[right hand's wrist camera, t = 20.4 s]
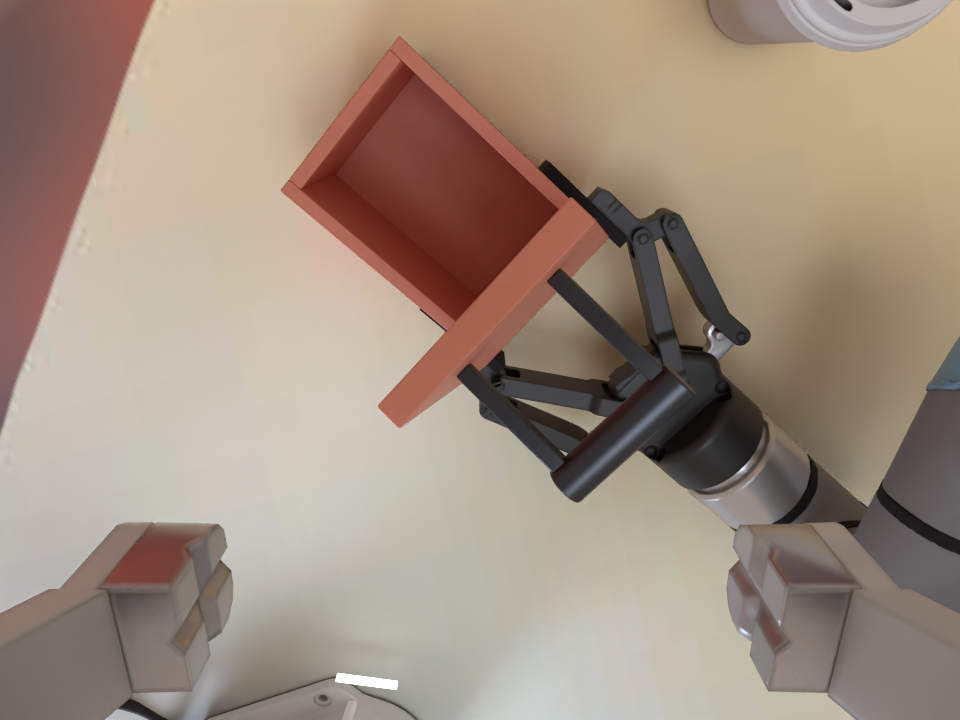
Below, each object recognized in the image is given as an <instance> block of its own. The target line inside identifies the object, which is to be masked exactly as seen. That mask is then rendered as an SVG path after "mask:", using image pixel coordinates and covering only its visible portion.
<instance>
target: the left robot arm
mask: <svg viewBox="0 0 960 720" xmlns="http://www.w3.org/2000/svg"><path fill="white" fill-rule="evenodd" d="M538 169H539V170H540V171H541V172H542V173H543V174H544V175H545V176H546V177H547V178H548V179H549V180H550V181H551V182H552V183H553V184H554V185H555V186H556V187H557V188H559V189H560V190H561V191H562V192H563V193H564V194H565V195H566V196H567V197H568V198H573V199H574V200H575V201H576V202H577V203H578V204H579V205H581V206H582V207H583V208H584V209H585V210H586V211H587V212H588V213H589V214H590V215H591V216H592V217H593V218H594V219H595V220H596V221H597V222H598V224H599V225H600V226H601V227H602V229H603V230H604V231H605V233H606V234H607V235H608V236H609V238H610V239H611V240H612V241H613V242H614V243H615V244H616V245H617V246H618V247H619V248H620V247H621V246H622V245H623V244H624V243H625V242H627V246H628V250H629V255H630V259H631V263H632V267H633V271H634V275H635V279H636V284H637V288H638V292H639V296H640V300H641V304H642V308H643V313H644V317H645V321H646V330H647V334H648V338H649V342H650V344H648V345H646V346H643V345H641V346H642V347H643V348H644V349H645V350H646V351H647V352H648V353H649V354H650V355H652V356H653V357H654V358H655V359H656V360H657V361H658V362H659V363H660V364H661V365H663V364H666V365H668V366H669V367H671V368H672V369H673V370H674V371H675V372H676V373H677V374H678V375H679V376H680V377H681V378H682V379H683V380H684V381H685V382H686V383H687V384H688V385H689V386H690V387H691V388H692V389H693V390H694V392H695V393H696V397H695V398H694V399H693V400H692V401H691V402H690V403H689V404H687V405H686V406H685V407H684V408H683V409H682V410H681V411H680V412H679V413H678V414H676V415H675V416H674V417H673V418H672V419H671V420H670V421H669V422H668V423H667V424H665V425H664V426H663V427H662V428H661V429H660V430H659V431H658V432H657V433H656V434H654V435H653V436H652V437H651V438H650V439H649V440H648V441H647V442H646V443H645V444H643V445H642V446H641V447H640V448H639V449H638V451H640V452H642V453H643V454H645V455H646V456H647V457H648V458H649V459H650V460H652V461H653V462H654V463H655V464H656V465H657V466H659V467H660V468H661V469H662V470H663V471H664V472H666V473H667V474H668V475H669V476H670V477H671V478H673V479H674V480H675V481H676V482H677V483H678V484H680V485H681V486H683V487H684V488H687V489H688V491H689V493H690V494H691V495H693V496H694V497H695V498H696V499H697V500H698V501H700V502H701V503H702V504H703V505H704V506H706V507H707V508H708V509H709V510H710V511H712V512H713V513H714V514H715V515H716V516H717V517H719V518H720V519H721V520H722V521H723V522H725V523H726V524H727V525H728V526H729V527H731V528H732V529H733V530H734V531H737V529H738V526H739V525H757V524H803V523H822V522H836V523H839V524H841V525H843V526H844V527H845V528H846V529H847V530H848V531H849V532H850V533H851V535H852V536H853V537H854V538H855V539H856V540H857V541H858V542H859V543H860V545H861V546H862V547H863V548H864V549H865V550H866V551H867V552H868V553H869V555H870V556H871V557H872V558H873V559H874V560H875V561H876V562H877V563H878V565H879V566H880V567H881V568H882V569H883V570H884V571H885V572H886V574H887V575H888V576H889V577H890V578H891V579H892V580H893V581H894V582H895V584H896V585H897V586H898V587H899V588H900V589H911V590H913V591H915V592H917V593H919V594H921V595H923V596H925V597H927V598H929V599H931V600H933V601H935V602H937V603H939V604H941V605H943V606H945V607H947V608H949V609H951V610H953V611H955V612H957V613H959V614H960V336H959V338H958V340H957V341H956V343H955V344H954V346H953V348H952V349H951V351H950V352H949V354H948V356H947V357H946V359H945V360H944V362H943V364H942V365H941V367H940V368H939V370H938V372H937V373H936V375H935V376H934V378H933V380H932V381H931V382H929V384H928V386H927V388H926V391H928V392H927V394H926V396H925V398H924V400H923V402H922V404H921V406H920V408H919V410H918V412H917V414H916V416H915V418H914V420H913V422H912V424H911V426H910V428H909V430H908V432H907V434H906V436H905V438H904V440H903V442H902V444H901V446H900V448H899V450H898V452H897V454H896V456H895V458H894V460H893V462H892V464H891V466H890V468H889V470H888V472H887V474H886V476H885V478H884V479H883V480H882V482H881V484H880V486H879V488H878V490H877V491H876V493H875V495H874V497H873V499H872V501H871V503H870V505H869V507H867V506H866V505H865V504H863V503H862V502H860V501H858V500H857V499H856V498H855V497H854V496H853V495H852V494H851V493H850V492H848V491H847V490H846V489H845V488H844V487H843V486H842V485H841V484H840V483H839V482H837V481H836V480H835V479H834V478H833V477H832V476H831V475H829V474H828V473H827V472H826V471H825V470H824V469H823V468H822V467H820V466H819V465H818V464H817V463H816V462H815V461H814V460H812V458H811V457H810V456H809V455H808V454H807V453H806V451H805V450H803V449H802V448H801V447H800V446H799V445H798V444H797V443H796V442H795V441H794V440H793V439H792V438H791V437H790V436H789V435H787V434H786V433H785V432H784V431H783V430H782V429H781V428H780V427H779V426H778V425H777V424H776V423H775V422H774V421H773V420H772V419H770V418H769V417H768V416H766V415H765V414H763V413H762V412H761V410H760V409H759V408H758V406H756V405H755V404H754V403H753V402H752V401H751V400H750V399H749V398H748V397H747V396H746V395H745V394H744V393H743V392H741V391H740V390H739V389H738V388H737V387H736V386H735V385H734V384H733V383H732V382H731V381H730V380H729V379H728V378H726V377H725V376H724V375H723V374H722V372H721V369H720V365H719V362H718V360H719V359H720V358H721V357H722V356H723V355H724V354H725V353H726V352H727V351H728V350H729V349H730V348H731V347H732V346H733V345H734V344H736V345H744V344H746V343H747V342H748V341H749V340H750V336H751V334H750V331H749V330H748V329H747V328H746V327H745V326H743V325H742V324H741V323H740V322H739V321H738V320H737V319H735V318H734V317H733V316H732V315H731V314H730V313H729V311H728V309H727V307H726V305H725V303H724V301H723V299H722V297H721V295H720V293H719V291H718V289H717V287H716V285H715V283H714V281H713V279H712V277H711V275H710V273H709V271H708V269H707V267H706V265H705V263H704V261H703V259H702V257H701V255H700V253H699V251H698V249H697V247H696V245H695V243H694V241H693V239H692V237H691V235H690V233H689V231H688V229H687V227H686V225H685V223H684V221H683V219H682V217H681V216H680V215H679V214H677V213H675V212H673V211H671V210H669V209H666V208H660V209H658V210H657V211H655V213H654V214H652V215H650V216H648V217H646V218H643V219H638V218H636V217H635V216H634V215H633V214H632V213H631V212H630V211H629V210H628V209H627V208H626V207H625V206H624V205H623V204H622V203H621V202H620V201H619V200H617V199H616V198H615V197H614V196H613V195H612V194H611V193H610V192H609V191H607V190H605V189H602V188H600V187H597V188H596V189H595V190H594V191H593V192H592V193H591V194H590V196H589V197H588V198H586V197H585V196H584V195H583V194H582V193H581V192H580V191H579V190H578V189H577V188H576V187H575V186H574V185H573V184H572V183H571V182H570V181H569V180H568V179H567V178H566V177H565V176H564V175H562V174H561V173H560V172H559V171H558V170H557V169H556V168H555V167H554V166H553V165H552V164H551V163H550V162H548V161H547V160H545V161H544V162H543V163H542V164H541V166H540V167H539V168H538ZM660 238H662V240H663V242H664V244H665V246H666V248H667V250H668V252H669V254H670V256H671V258H672V259H673V261H674V263H675V265H676V267H677V269H678V271H679V273H680V275H681V277H682V279H683V281H684V283H685V285H686V287H687V289H688V291H689V293H690V295H691V297H692V298H693V300H694V302H695V304H696V306H697V308H698V310H699V311H700V313H701V314H702V315H703V316H704V318H706V319H707V320H708V321H707V322H706V323H705V324H704V326H703V333H704V335H705V336H706V339H707V340H706V344H705V346H704V347H699V346H688V345H679V341H678V338H677V335H676V332H675V330H674V327H673V322H672V318H671V314H670V309H669V305H668V300H667V296H666V291H665V287H664V283H663V278H662V274H661V269H660V265H659V261H658V256H657V252H656V247H655V243H654V241H656V240H658V239H660ZM420 310H421V311H422V312H423V313H424V314H425V315H427V316H428V317H429V318H430V319H431V320H433V321H434V322H435V323H436V324H437V325H439V326H440V327H441V328H442V329H443V330H445V331H447V330H446V329H445V328H444V327H442V326H441V325H440V324H439V323H438V322H437V321H435V320H434V319H433V318H432V317H431V316H429V315H428V314H427V313H426V312H425V311H423V310H422V309H421V308H420ZM480 372H481V373H482V374H483V375H484V376H485V377H486V378H487V379H488V380H489V381H490V382H491V383H492V384H493V385H494V386H495V387H496V388H497V389H498V390H499V391H500V392H501V393H502V394H503V395H504V396H505V397H506V398H507V399H508V400H509V401H510V402H511V403H512V404H513V405H514V406H515V407H516V408H517V409H518V410H519V411H520V412H521V413H522V414H523V415H524V416H525V417H526V418H527V419H528V420H529V421H530V422H531V423H532V424H533V425H534V426H535V427H536V428H537V429H538V430H539V431H540V432H541V433H542V434H544V435H545V436H546V437H547V438H548V439H549V440H550V441H551V442H552V443H553V444H554V445H555V446H556V447H557V448H558V449H559V450H562V451H564V452H566V453H570V452H571V451H572V450H573V449H574V448H575V447H576V446H577V445H578V444H579V443H580V442H581V441H582V440H583V439H584V438H585V437H587V436H588V435H589V434H590V433H591V432H592V431H593V430H592V431H590V433H588V432H586V431H585V430H584V429H582V428H581V427H579V426H577V425H575V424H573V423H570V422H568V421H566V420H563V419H561V418H559V417H556V416H554V415H552V414H549V413H547V412H545V411H542V410H540V409H538V408H535V407H533V406H531V405H528V404H526V403H523V402H521V401H519V400H516V399H514V398H512V397H515V398H520V399H526V400H531V401H537V402H543V403H548V404H554V405H560V406H565V407H571V408H576V409H582V410H587V411H590V412H592V413H593V414H596V415H599V416H604V417H608V416H609V415H610V414H611V413H612V412H613V411H614V410H615V409H616V408H617V407H618V406H619V405H620V404H622V403H623V402H624V401H625V400H626V399H627V398H628V397H629V396H630V395H631V394H632V393H633V392H634V391H635V390H636V389H637V388H639V387H640V386H641V385H642V384H643V383H644V382H645V381H646V380H647V379H646V378H645V377H644V376H643V375H642V374H641V373H640V372H639V371H638V370H637V369H636V368H635V367H634V366H633V365H632V364H631V363H630V362H629V361H628V362H627V363H626V364H624V365H622V366H621V367H619V368H617V369H616V370H615V371H614V372H613V373H612V374H611V375H610V376H609V378H610V381H609V382H608V381H603V380H597V379H590V380H583V379H578V378H572V377H567V376H561V375H556V374H550V373H545V372H539V371H534V370H528V369H523V368H517V367H512V366H506V365H505V357H504V352H503V351H502V350H501V351H500V352H499V353H498V354H497V355H496V356H495V357H494V358H493V359H492V360H491V361H490V362H489V363H488V364H487V365H486V366H485V367H484V368H482V369H481V370H480ZM479 411H480V415H481V416H482V417H483V418H485V419H487V420H490V421H492V422H494V423H497V424H499V425H502V426H504V427H506V426H505V425H504V424H503V423H502V422H501V421H500V420H499V419H498V418H497V417H496V416H495V415H494V414H493V413H492V412H491V411H490V410H489V409H488V408H487V407H486V406H485V405H484V404H483V403H482V402H481V401H480V400H479ZM506 428H507V427H506Z"/></svg>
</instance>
